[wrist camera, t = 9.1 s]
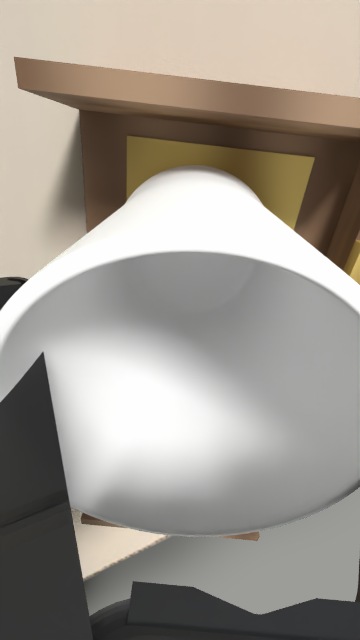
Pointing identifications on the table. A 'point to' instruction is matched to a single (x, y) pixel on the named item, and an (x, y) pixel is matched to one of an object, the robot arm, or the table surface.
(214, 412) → the mug
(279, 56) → the table surface
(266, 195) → the rack
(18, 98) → the table surface
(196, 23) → the table surface
